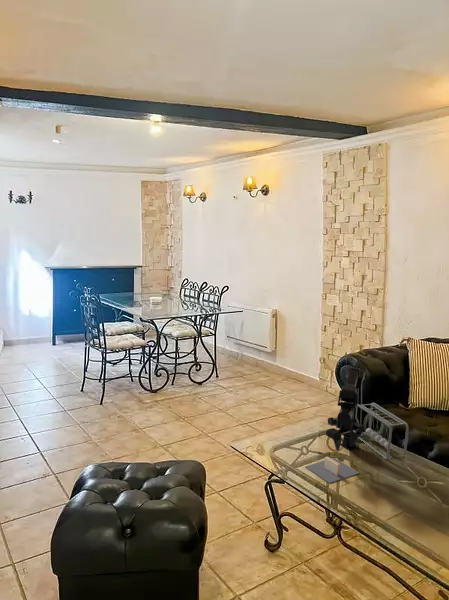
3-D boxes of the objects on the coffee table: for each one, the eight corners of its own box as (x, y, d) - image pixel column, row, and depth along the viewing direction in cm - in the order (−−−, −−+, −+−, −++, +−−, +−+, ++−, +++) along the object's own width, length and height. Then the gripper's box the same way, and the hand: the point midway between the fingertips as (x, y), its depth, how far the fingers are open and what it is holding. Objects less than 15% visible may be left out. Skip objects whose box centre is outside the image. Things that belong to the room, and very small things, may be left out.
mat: (334, 458, 244) (334, 457, 244) (359, 473, 230) (359, 472, 230) (304, 467, 234) (305, 466, 234) (329, 483, 221) (329, 482, 221)
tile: (327, 466, 235) (327, 456, 234) (339, 474, 228) (340, 464, 227) (324, 467, 234) (324, 457, 233) (336, 475, 227) (337, 465, 226)
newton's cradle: (352, 434, 271) (355, 402, 267) (369, 432, 274) (372, 401, 271) (387, 461, 243) (390, 426, 240) (406, 459, 246) (409, 424, 243)
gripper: (349, 405, 242) (346, 437, 245) (318, 413, 232) (316, 445, 235) (366, 414, 232) (364, 446, 235) (335, 422, 223) (333, 455, 226)
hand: (344, 448), depth 233 cm, fingers open, 8 cm apart
